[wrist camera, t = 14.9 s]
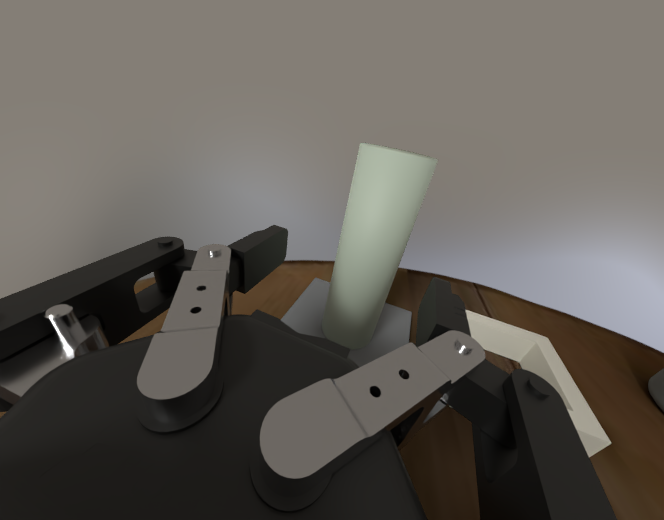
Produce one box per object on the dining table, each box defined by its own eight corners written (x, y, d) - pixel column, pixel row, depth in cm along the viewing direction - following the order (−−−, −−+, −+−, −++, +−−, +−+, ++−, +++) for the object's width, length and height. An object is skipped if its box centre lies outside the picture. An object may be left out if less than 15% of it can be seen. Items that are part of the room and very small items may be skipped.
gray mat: (408, 318, 28) (411, 312, 27) (397, 421, 17) (401, 414, 17) (314, 283, 30) (315, 277, 30) (257, 356, 20) (257, 348, 20)
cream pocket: (530, 356, 26) (547, 337, 24) (580, 463, 17) (611, 443, 16) (435, 322, 28) (445, 302, 26) (437, 401, 19) (453, 379, 18)
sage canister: (376, 321, 25) (437, 157, 17) (365, 358, 21) (439, 162, 13) (332, 304, 26) (369, 142, 18) (313, 335, 22) (351, 143, 14)
